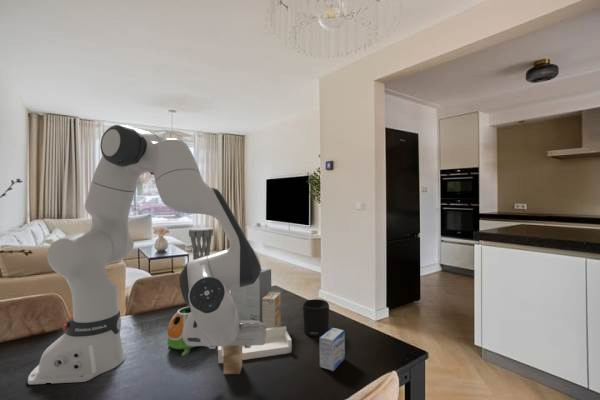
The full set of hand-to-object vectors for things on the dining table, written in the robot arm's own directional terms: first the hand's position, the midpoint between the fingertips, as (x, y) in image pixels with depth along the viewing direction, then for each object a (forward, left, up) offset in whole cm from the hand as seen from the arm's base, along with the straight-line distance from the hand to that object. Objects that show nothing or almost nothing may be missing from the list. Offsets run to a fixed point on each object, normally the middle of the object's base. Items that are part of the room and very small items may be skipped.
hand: (230, 345), depth 83 cm
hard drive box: (+10, +37, -9) cm, 39 cm away
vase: (-9, +51, -9) cm, 53 cm away
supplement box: (+16, +24, -9) cm, 30 cm away
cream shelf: (+8, +11, -8) cm, 16 cm away
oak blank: (+1, +3, -8) cm, 9 cm away
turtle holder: (-11, +22, -9) cm, 26 cm away
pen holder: (+31, +19, -9) cm, 37 cm away
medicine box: (+29, -2, -9) cm, 30 cm away
